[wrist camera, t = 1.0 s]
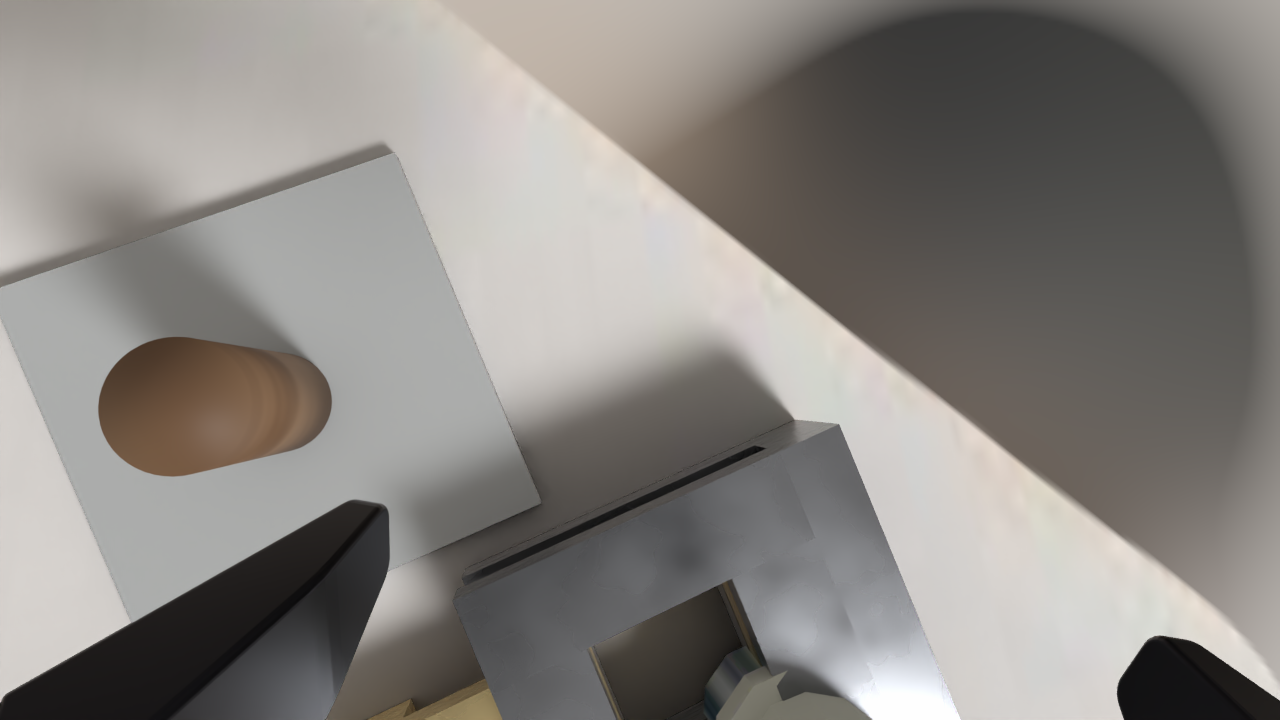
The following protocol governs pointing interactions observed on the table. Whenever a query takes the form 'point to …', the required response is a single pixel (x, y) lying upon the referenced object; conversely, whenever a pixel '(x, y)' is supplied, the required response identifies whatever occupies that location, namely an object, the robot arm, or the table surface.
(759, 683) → the white long cylinder
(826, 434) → the grey block with slider
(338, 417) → the grey mat
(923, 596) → the table surface
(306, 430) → the walnut peg
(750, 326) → the table surface
